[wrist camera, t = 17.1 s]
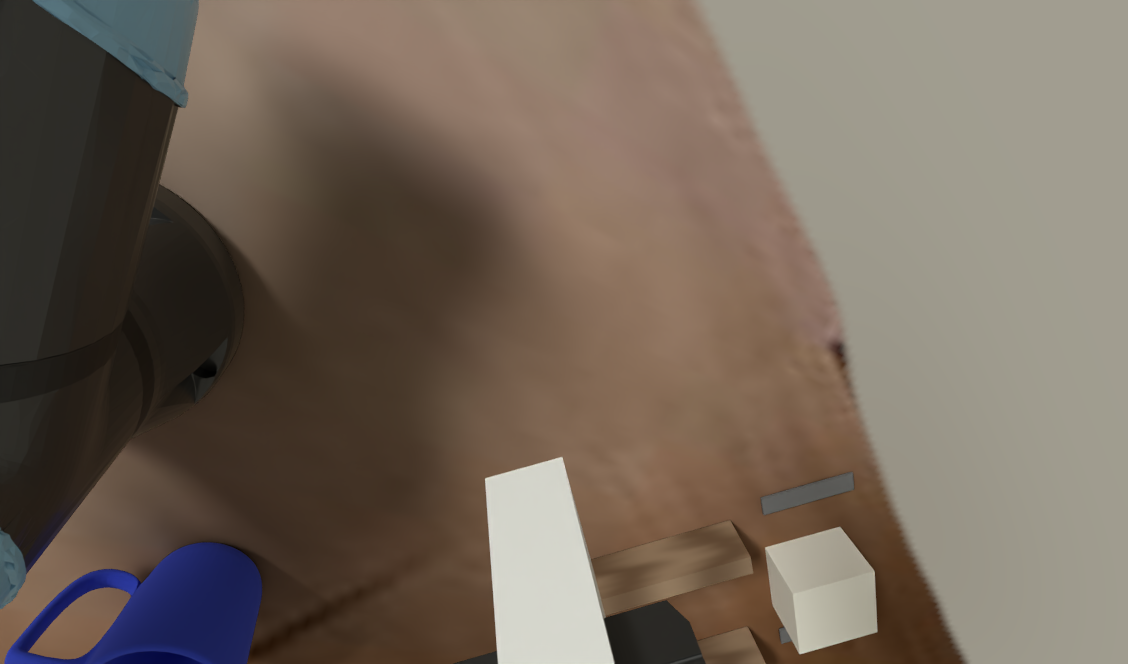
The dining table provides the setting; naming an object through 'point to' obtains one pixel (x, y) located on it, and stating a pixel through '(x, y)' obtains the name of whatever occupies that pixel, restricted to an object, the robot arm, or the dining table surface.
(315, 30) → the dining table surface
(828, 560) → the block
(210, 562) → the mug
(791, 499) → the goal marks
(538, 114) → the dining table surface
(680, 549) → the wooden bar frame
